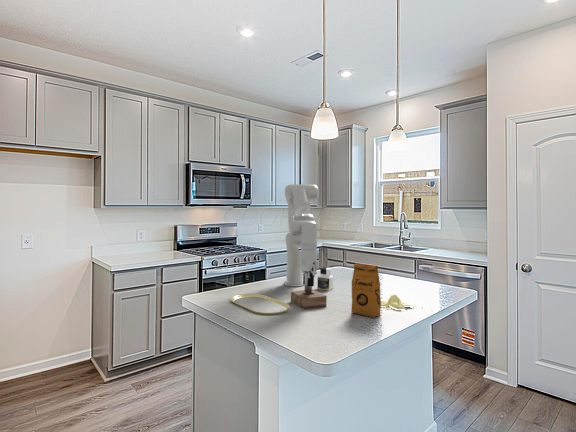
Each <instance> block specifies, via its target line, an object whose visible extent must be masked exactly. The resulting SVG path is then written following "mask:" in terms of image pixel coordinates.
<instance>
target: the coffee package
mask: <svg viewBox="0 0 576 432" xmlns="http://www.w3.org/2000/svg"><path fill="white" fill-rule="evenodd" d="M353 267H354V268H353V271H352V278H351V279H352V280H351V313H352V314H353V313H354V314H357V315H360V314H361V316H365V317H368V316H369V318H370V317H371V318H373V317H376V316H377V317H378V315H379V316H381V309H382V308H381V301H382V300H381V299H382V297H381V282H380V275H379V273H380V272H379V269H378V265H370V264H363V263H354V265H353ZM377 317H376V318H377Z"/></svg>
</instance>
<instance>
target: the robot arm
mask: <svg viewBox="0 0 576 432" xmlns="http://www.w3.org/2000/svg"><path fill="white" fill-rule="evenodd" d="M284 197H285V200H286V204H287V210H288V211H287V212H288V214H287V224H288V231H289V232H288V233H286V235H285V244H286V245H285V246H286V278H285V279H286V280H284V282H283V284H284V285H285V286H287V287H302V286H303V287H304V286H305V271H306V272H308V278H307V286H308V287H309V286H312V287H314V286H315V275H317V270H318V257H317V255H318V254H317V249H318V224H317V222H316V221H315V216H314V215H313V214H311V213H308V212H309V211H310V210H311V206H312V205H311V201H316V200H318V199H319V197H320V189H319V187H318V186H317V185H316V184H304V183H303V184H302V183H301V184H297V183H296V184H288V185H286V186H285V187H284ZM310 273H311V274H310Z"/></svg>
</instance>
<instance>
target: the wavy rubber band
mask: <svg viewBox="0 0 576 432" xmlns="http://www.w3.org/2000/svg"><path fill="white" fill-rule="evenodd" d="M248 297H249V298H250V297H251V298H253V297H254V298H260V299H265V300H267V301H269V302H273V303H274V304H277V305H280V306H282V307H285V308H286V309H285V310H281V311H276V312H274V311H273V312H265V311H263V312H262V311H257V310H253V309H251V308H248V307H246V306H244V305H242V304H241V303H238V302H235V301H236V300H237V299H242V298H248ZM231 302H232V303H233V304H234V305H237V306H239V307H241V308H244V309H245V310H247V309H248V311H250V312H252V313H254V314H257V313H258V315H265V316H269V315H270V316H271V315H272V316H273V315H280V314H284V313H286V312H288V311H289V310H290V308H291V306H290V304H288V303H286V302H284V301H282V300H279V299H275V298H272V297H270V296H267V295H264V294H259V293H245V294H238V295H235V296H233V297H231Z"/></svg>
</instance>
